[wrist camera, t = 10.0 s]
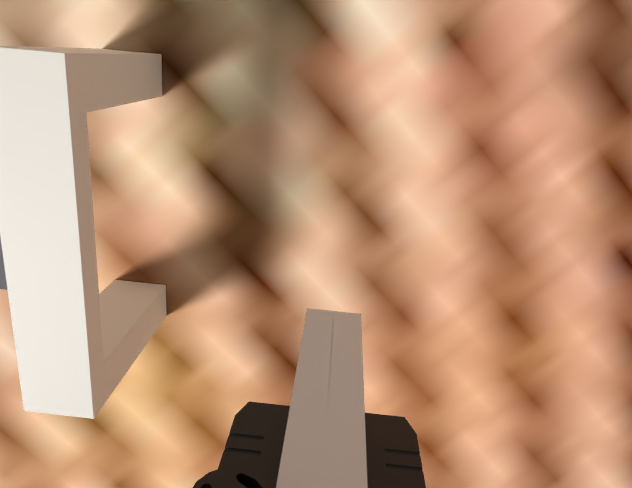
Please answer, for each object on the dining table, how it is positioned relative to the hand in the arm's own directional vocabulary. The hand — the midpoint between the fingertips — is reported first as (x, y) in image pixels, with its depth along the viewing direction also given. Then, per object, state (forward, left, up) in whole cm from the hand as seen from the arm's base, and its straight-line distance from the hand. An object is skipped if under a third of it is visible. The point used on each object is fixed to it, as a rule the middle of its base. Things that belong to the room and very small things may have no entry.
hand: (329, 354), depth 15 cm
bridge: (+11, 0, -14) cm, 18 cm away
